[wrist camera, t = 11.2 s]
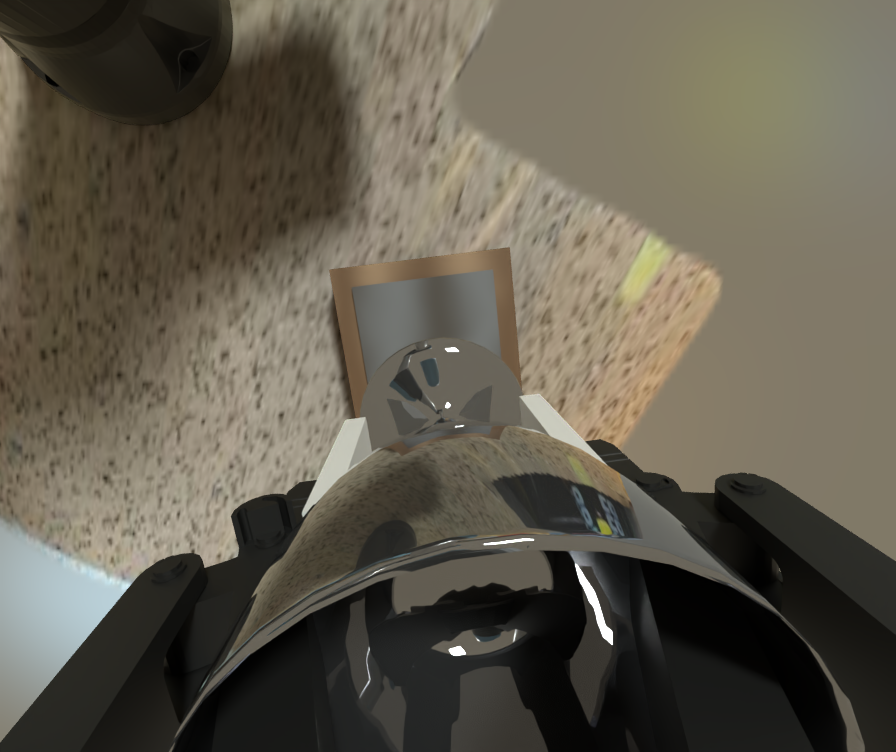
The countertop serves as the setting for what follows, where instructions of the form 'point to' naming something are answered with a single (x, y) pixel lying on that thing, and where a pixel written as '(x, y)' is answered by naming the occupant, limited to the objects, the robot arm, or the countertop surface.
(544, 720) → the wine glass
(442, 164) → the countertop surface
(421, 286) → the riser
